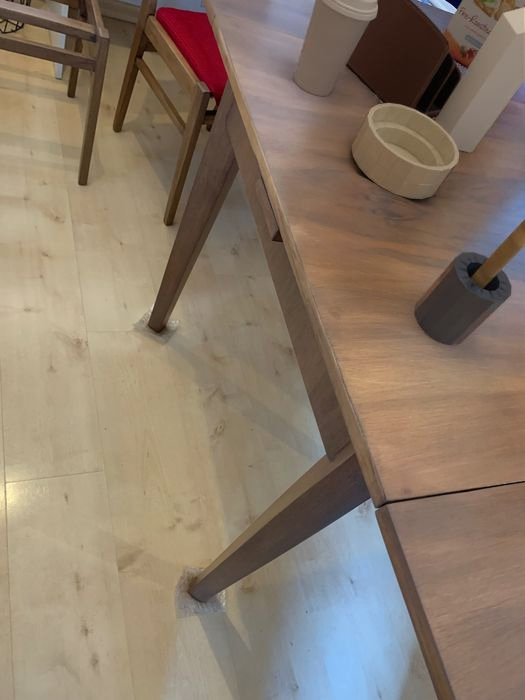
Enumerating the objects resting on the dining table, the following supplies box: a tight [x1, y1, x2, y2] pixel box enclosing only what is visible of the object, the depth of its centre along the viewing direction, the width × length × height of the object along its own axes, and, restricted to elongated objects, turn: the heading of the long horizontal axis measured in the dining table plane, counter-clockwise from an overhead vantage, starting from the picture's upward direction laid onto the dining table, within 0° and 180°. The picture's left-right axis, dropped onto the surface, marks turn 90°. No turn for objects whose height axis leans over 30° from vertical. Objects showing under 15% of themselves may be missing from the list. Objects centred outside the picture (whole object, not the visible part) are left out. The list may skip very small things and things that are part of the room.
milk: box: [434, 7, 525, 154], centre depth 86 cm, size 6×6×22 cm
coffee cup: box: [293, 0, 378, 97], centre depth 85 cm, size 10×10×15 cm
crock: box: [414, 251, 512, 346], centre depth 64 cm, size 7×7×9 cm
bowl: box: [351, 102, 460, 200], centre depth 81 cm, size 14×14×6 cm
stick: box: [470, 218, 525, 289], centre depth 60 cm, size 2×2×18 cm
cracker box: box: [442, 0, 525, 68], centre depth 107 cm, size 14×6×21 cm, turn 55°
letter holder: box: [346, 0, 463, 118], centre depth 93 cm, size 10×20×14 cm, turn 37°
